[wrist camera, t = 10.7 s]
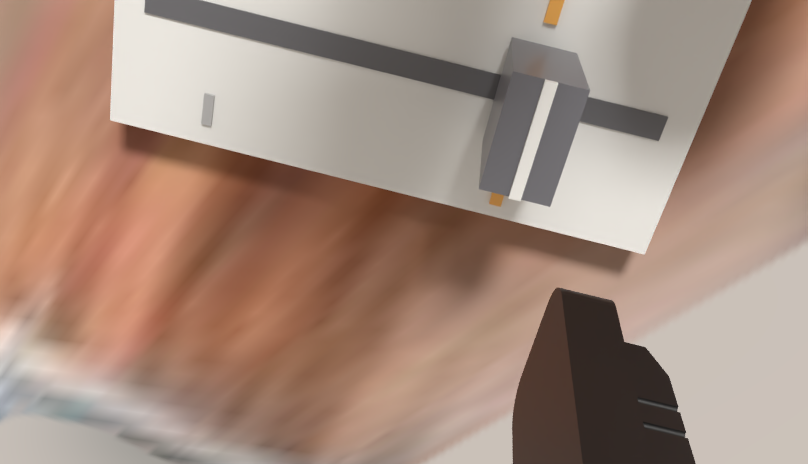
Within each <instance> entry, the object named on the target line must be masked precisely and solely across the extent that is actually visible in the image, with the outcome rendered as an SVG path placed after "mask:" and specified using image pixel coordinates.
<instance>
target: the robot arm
mask: <svg viewBox="0 0 808 464" xmlns="http://www.w3.org/2000/svg"><path fill="white" fill-rule="evenodd" d="M677 409H678V405H677V401H676V398H675V395H674V391H673V388H672V385H671V381H670V378H669V376H668V375H667V374H666V372H665V371H664V370H663V369H662V367H661V366H660V365H659V364H658V362H657V361H656V360H655V359H654V357H653V356H652V355H651V354H650V353H649V351H648V350H647V349H646V348H645V347H642V346H638V345H634V344H630V343H626V342H624V339H623V335H622V331H621V327H620V322H619V318H618V314H617V310H616V306H615V303H614V302H613V301H612V300H608V299H604V298H599V297H595V296H591V295H587V294H583V293H579V292H575V291H571V290H566V289H562V288H556V289H555V290H554V292H553V293H552V295H551V297H550V299H549V302H548V305H547V307H546V310H545V313H544V316H543V318H542V321H541V324H540V327H539V329H538V332H537V335H536V338H535V340H534V343H533V346H532V349H531V351H530V354H529V357H528V360H527V362H526V365H525V368H524V371H523V373H522V376H521V379H520V382H519V386H518V390H517V394H516V399H515V404H514V411H513V422H512V423H513V424H512V431H513V432H512V434H513V464H695V460H694V457H693V454H692V450H691V447H690V444H689V441H688V439H687V438H685V433H686V431H685V428H684V424H683V421H682V418H681V414H680V413H679V412H677Z"/></svg>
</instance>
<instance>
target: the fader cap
mask: <svg viewBox="0 0 808 464" xmlns="http://www.w3.org/2000/svg"><path fill="white" fill-rule="evenodd" d="M589 93H590V88H589V86H588V83H587V80H586V77H585V74H584V71H583V69H582V66H581V63H580V60H579V57H578V55H577V53H574V52H570V51H566V50H562V49H558V48H554V47H550V46H546V45H542V44H538V43H534V42H530V41H526V40H522V39H518V38H514V37H512V38H511V42H510V45H509V49H508V52H507V56H506V59H505V63H504V66H503V70H502V73H501V77H500V80H499V84H498V87H497V91H496V94H495V98H494V102H493V105H492V109H491V112H490V116H489V119H488V123H487V126H486V130H485V133H484V137H483V142H482V154H481V166H480V179H479V189H481V190H485V191H489V192H492V193H496V194H500V195H504V196H508V199H512V200H516V201H521V200H524V201H528V202H532V203H536V204H540V205H544V206H548V207H550V206H551V203H552V200H553V197H554V195H555V192H556V189H557V186H558V183H559V180H560V177H561V174H562V171H563V168H564V165H565V163H566V160H567V157H568V154H569V151H570V148H571V145H572V142H573V139H574V136H575V133H576V131H577V128H578V125H579V122H580V119H581V116H582V113H583V110H584V107H585V104H586V101H587V99H588V96H589Z"/></svg>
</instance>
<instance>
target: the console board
mask: <svg viewBox="0 0 808 464" xmlns="http://www.w3.org/2000/svg"><path fill="white" fill-rule="evenodd" d="M751 1H752V0H115V5H114V32H113V58H112V84H111V110H110V120H111V121H115V122H119V123H123V124H127V125H131V126H135V127H139V128H143V129H147V130H151V131H155V132H159V133H163V134H167V135H171V136H175V137H179V138H183V139H187V140H191V141H195V142H199V143H203V144H207V145H211V146H215V147H219V148H223V149H227V150H231V151H235V152H239V153H243V154H247V155H251V156H255V157H258V158H262V159H266V160H270V161H274V162H278V163H282V164H286V165H290V166H294V167H298V168H302V169H306V170H310V171H314V172H318V173H322V174H326V175H330V176H334V177H338V178H342V179H346V180H350V181H354V182H358V183H362V184H366V185H370V186H374V187H378V188H382V189H386V190H390V191H394V192H398V193H402V194H406V195H410V196H414V197H418V198H422V199H426V200H430V201H434V202H438V203H441V204H445V205H449V206H453V207H457V208H461V209H465V210H469V211H473V212H477V213H481V214H485V215H489V216H493V217H497V218H501V219H505V220H509V221H513V222H517V223H521V224H525V225H529V226H533V227H537V228H541V229H545V230H549V231H553V232H557V233H561V234H565V235H569V236H573V237H577V238H581V239H585V240H589V241H593V242H597V243H601V244H605V245H609V246H613V247H617V248H620V249H624V250H628V251H632V252H636V253H640V254H644V255H645V252H646V250H647V247H648V245H649V243H650V240H651V238H652V236H653V233H654V231H655V229H656V226H657V224H658V221H659V219H660V217H661V214H662V212H663V210H664V207H665V205H666V203H667V200H668V198H669V195H670V193H671V191H672V188H673V186H674V184H675V181H676V179H677V176H678V174H679V172H680V169H681V167H682V165H683V162H684V160H685V158H686V155H687V153H688V150H689V148H690V146H691V143H692V141H693V139H694V136H695V134H696V131H697V129H698V127H699V124H700V122H701V120H702V117H703V115H704V113H705V110H706V108H707V105H708V103H709V101H710V98H711V96H712V94H713V91H714V89H715V86H716V84H717V82H718V79H719V77H720V75H721V72H722V70H723V68H724V65H725V63H726V60H727V58H728V56H729V53H730V51H731V49H732V46H733V44H734V42H735V39H736V37H737V34H738V32H739V30H740V27H741V25H742V23H743V20H744V18H745V15H746V13H747V11H748V8H749V6H750V4H751ZM512 37H514V38H518V39H522V40H526V41H530V42H534V43H538V44H542V45H546V46H550V47H554V48H558V49H562V50H566V51H570V52H574V53H577V55H578V57H579V60H580V63H581V66H582V69H583V71H584V74H585V77H586V80H587V83H588V86H589V88H590V93H589V96H588V99H587V101H586V104H585V107H584V110H583V113H582V116H581V119H580V122H579V125H578V128H577V131H576V133H575V136H574V139H573V142H572V145H571V148H570V151H569V154H568V157H567V160H566V163H565V165H564V168H563V171H562V174H561V177H560V180H559V183H558V186H557V189H556V192H555V195H554V197H553V200H552V203H551V206H550V207H548V206H544V205H540V204H536V203H532V202H528V201H524V200H521V201H516V200H512V199H508V196H504V195H500V194H496V193H492V192H489V191H485V190H481V189H479V179H480V166H481V154H482V142H483V137H484V133H485V130H486V126H487V123H488V119H489V116H490V112H491V109H492V105H493V102H494V98H495V94H496V91H497V87H498V84H499V80H500V77H501V73H502V70H503V66H504V63H505V59H506V56H507V52H508V49H509V45H510V42H511V38H512Z"/></svg>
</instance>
